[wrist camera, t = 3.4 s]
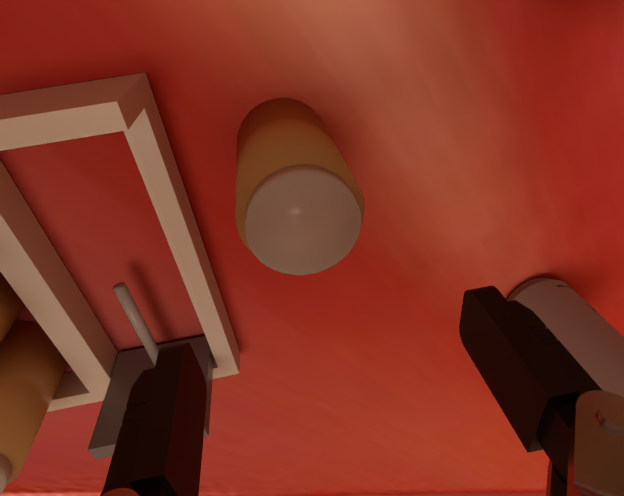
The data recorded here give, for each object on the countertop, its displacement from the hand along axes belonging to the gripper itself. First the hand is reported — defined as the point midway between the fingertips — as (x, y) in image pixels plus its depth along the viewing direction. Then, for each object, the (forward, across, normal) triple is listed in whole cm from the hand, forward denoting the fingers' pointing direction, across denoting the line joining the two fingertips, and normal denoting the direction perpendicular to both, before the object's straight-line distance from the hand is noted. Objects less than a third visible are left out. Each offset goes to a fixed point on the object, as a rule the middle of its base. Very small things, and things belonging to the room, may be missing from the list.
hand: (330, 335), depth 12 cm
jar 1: (+16, +22, +12) cm, 30 cm away
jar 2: (+16, 0, 0) cm, 16 cm away
